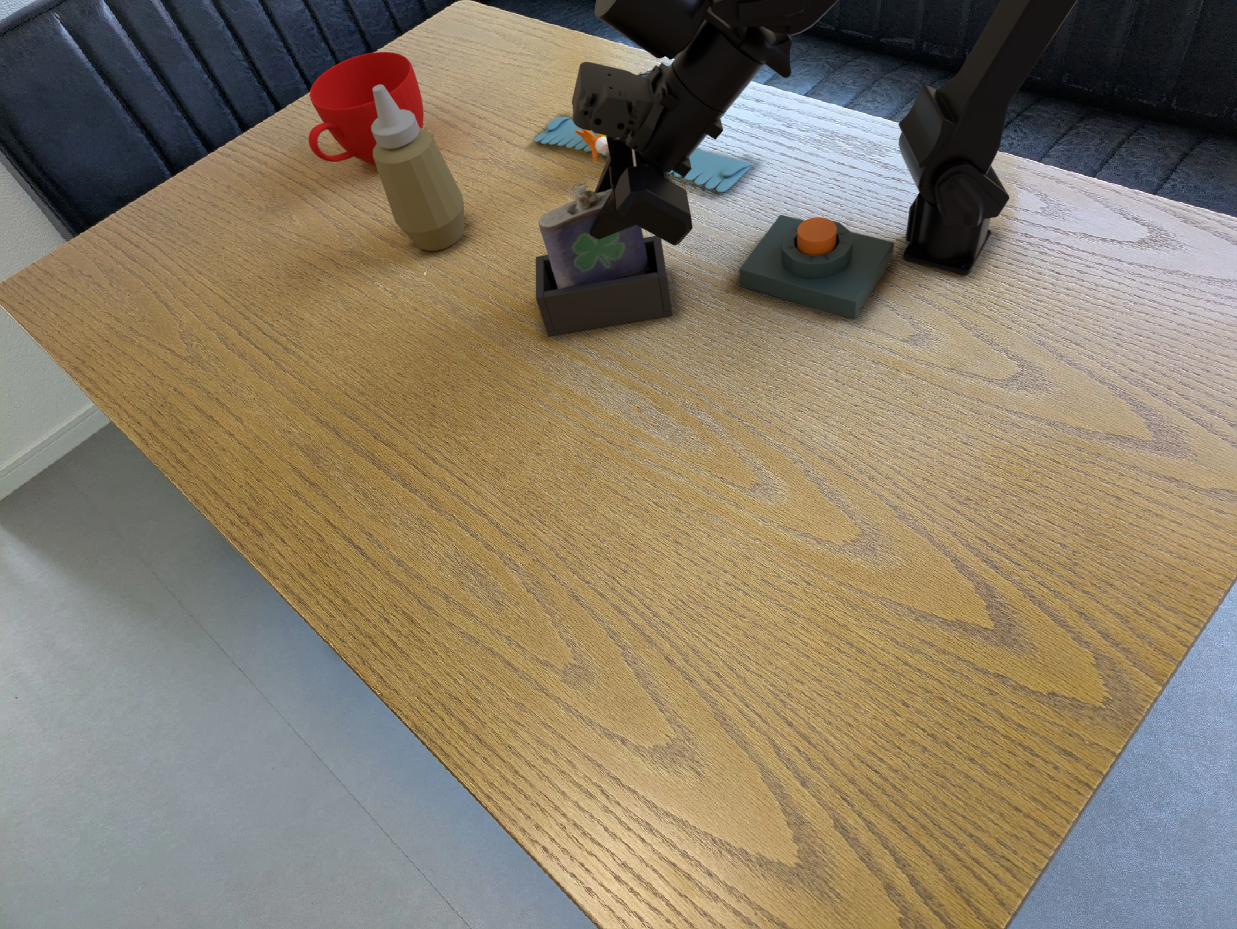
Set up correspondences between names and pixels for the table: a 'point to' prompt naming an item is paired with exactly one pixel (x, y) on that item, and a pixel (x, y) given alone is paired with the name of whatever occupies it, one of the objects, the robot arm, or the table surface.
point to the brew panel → (817, 268)
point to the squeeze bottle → (415, 177)
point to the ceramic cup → (361, 101)
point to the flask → (589, 243)
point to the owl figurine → (701, 164)
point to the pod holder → (604, 296)
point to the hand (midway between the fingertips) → (593, 224)
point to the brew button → (816, 236)
